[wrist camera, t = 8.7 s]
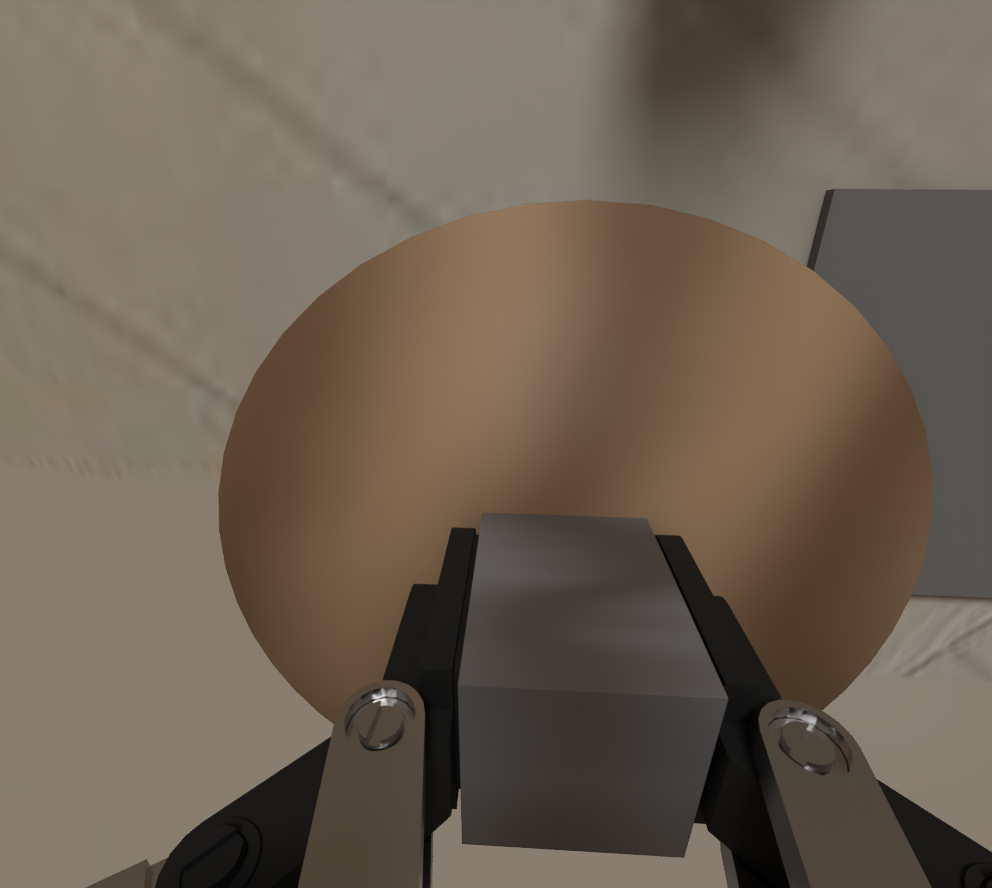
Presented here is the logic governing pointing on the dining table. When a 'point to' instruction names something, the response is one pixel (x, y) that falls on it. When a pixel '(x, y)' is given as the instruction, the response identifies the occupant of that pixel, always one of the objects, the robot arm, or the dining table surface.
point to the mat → (929, 347)
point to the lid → (578, 497)
